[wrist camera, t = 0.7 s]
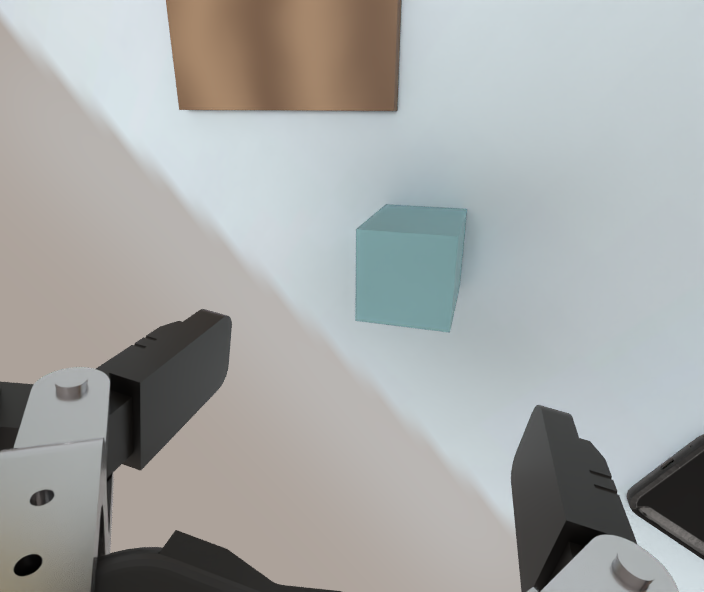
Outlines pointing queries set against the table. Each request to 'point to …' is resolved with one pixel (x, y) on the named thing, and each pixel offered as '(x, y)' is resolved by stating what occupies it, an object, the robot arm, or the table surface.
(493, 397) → the table surface
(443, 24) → the table surface
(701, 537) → the phone
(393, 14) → the walnut board
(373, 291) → the teal block
